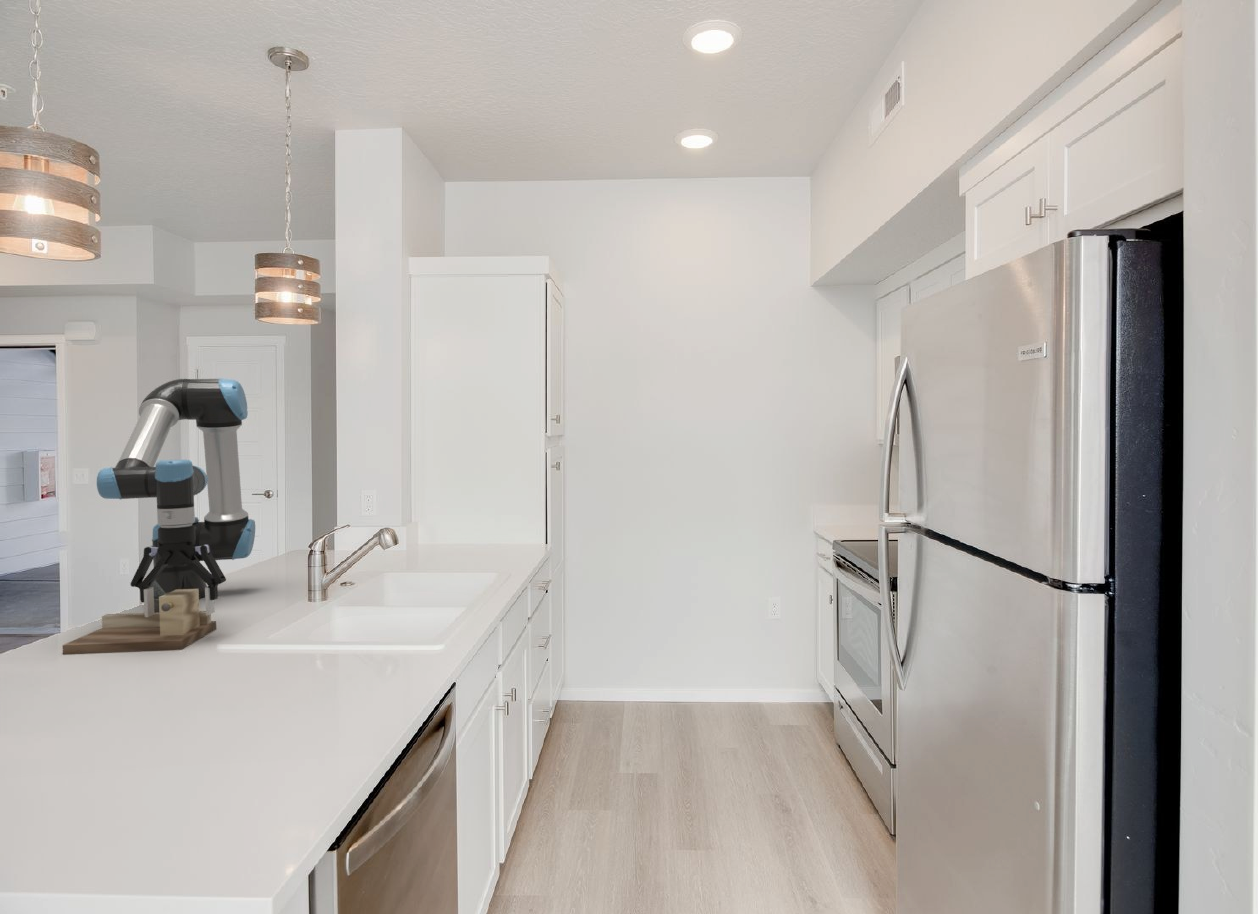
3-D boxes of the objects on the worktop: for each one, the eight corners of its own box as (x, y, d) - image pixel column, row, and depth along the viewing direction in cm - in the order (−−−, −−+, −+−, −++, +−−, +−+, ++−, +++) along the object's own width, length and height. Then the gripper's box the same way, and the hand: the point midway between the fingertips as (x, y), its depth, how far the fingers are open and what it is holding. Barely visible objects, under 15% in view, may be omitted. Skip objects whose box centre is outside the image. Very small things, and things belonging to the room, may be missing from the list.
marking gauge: (182, 624, 180) (180, 587, 179) (203, 623, 180) (202, 587, 180) (155, 638, 167) (153, 599, 167) (178, 637, 168) (176, 598, 168)
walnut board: (109, 633, 180) (108, 612, 180) (216, 629, 182) (215, 609, 182) (62, 654, 163) (61, 631, 163) (181, 649, 165) (180, 627, 165)
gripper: (110, 529, 168) (114, 620, 169) (224, 526, 170) (228, 616, 171) (129, 524, 175) (133, 612, 176) (238, 522, 178) (242, 608, 179)
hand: (180, 614), depth 174 cm, fingers open, 13 cm apart
